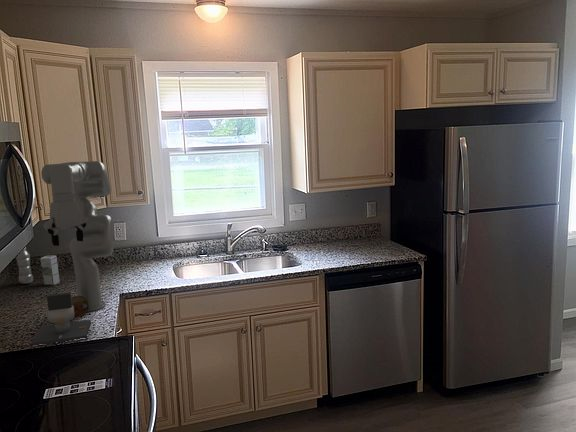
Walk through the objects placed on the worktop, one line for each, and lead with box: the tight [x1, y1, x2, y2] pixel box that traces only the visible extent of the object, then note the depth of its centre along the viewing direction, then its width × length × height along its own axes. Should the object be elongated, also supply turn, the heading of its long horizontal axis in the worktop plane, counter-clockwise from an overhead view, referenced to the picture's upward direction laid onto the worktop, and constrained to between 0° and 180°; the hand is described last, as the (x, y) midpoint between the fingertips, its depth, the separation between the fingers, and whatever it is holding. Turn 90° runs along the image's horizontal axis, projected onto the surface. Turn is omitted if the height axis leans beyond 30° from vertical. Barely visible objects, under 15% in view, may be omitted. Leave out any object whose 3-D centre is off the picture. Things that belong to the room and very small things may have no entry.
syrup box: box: [40, 255, 60, 286], centre depth 253 cm, size 6×6×14 cm
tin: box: [71, 295, 89, 318], centre depth 204 cm, size 15×3×8 cm, turn 106°
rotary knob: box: [46, 291, 76, 324], centre depth 183 cm, size 11×9×10 cm
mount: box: [32, 319, 92, 346], centre depth 186 cm, size 17×18×6 cm
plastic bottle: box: [15, 246, 34, 285], centre depth 255 cm, size 6×7×20 cm
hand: (68, 243), depth 184 cm, fingers open, 9 cm apart
